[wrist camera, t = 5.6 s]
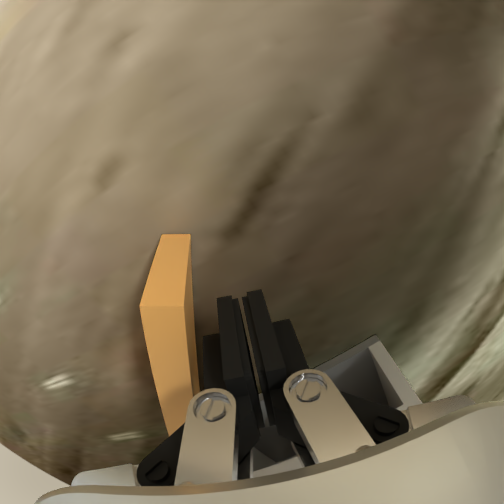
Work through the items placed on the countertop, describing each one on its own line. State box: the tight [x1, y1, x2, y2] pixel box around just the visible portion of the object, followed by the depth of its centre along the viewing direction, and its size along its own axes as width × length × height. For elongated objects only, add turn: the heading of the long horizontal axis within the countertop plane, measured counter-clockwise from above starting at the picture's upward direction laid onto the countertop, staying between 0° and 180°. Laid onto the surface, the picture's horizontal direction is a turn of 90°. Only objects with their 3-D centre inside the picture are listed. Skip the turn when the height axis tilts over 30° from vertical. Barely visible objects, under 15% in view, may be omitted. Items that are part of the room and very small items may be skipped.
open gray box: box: [252, 334, 422, 478], centre depth 17 cm, size 10×13×6 cm
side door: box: [139, 234, 200, 436], centre depth 13 cm, size 1×13×6 cm, turn 177°
